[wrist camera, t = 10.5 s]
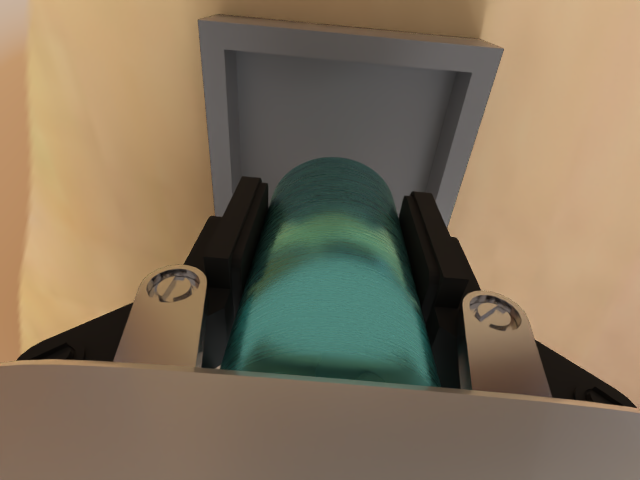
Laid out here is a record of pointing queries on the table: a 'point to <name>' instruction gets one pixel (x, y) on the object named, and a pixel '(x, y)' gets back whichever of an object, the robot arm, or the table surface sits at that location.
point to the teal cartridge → (332, 284)
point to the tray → (342, 103)
